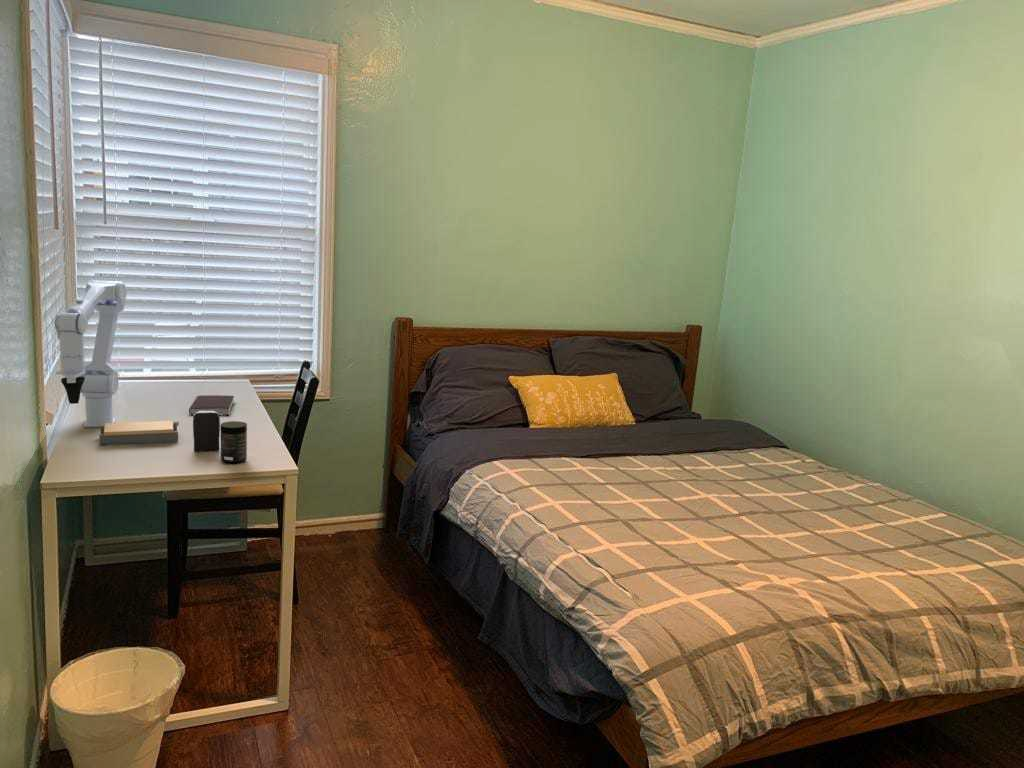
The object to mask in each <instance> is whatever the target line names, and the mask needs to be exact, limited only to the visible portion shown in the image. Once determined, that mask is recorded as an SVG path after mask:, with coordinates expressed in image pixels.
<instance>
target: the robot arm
mask: <svg viewBox="0 0 1024 768" xmlns="http://www.w3.org/2000/svg"><path fill="white" fill-rule="evenodd" d="M126 300H127V289H126V285H125V284H124V282H123V281H120V280H119V281H115V280H114V281H111V280H96V279H89V280H88V282H87V283H86V284H85V294H84V296H83V297H82V298H77V299H76V300H75V301H74V302H73V303H72V304H71V305H70V306H69V308H68V309H67V310H65V311H64V312H63V311H62V312H60V313H58V314H57V315H55V319H54V324H53V325H54V329H55V331H56V337H57V340H59V352H60V354H59V355H60V358H59V359H60V370H56V371H55V374H56V375H61V376H63V377H62V378H61V379H60V382H61V384H62V385H63V387H64V389H65V393H66V394H67V400H68V402H69V405H73V404H74V405H75V404H79V403H80V397H81V394H82V397H84V403H85V404H84V405H85V406H84V407H85V419H84V424H83V427H84V428H95V427H96V428H98V425H104V427H105V423H115V420H116V419H115V418H116V417H115V416H113V413H114V412H113V396H114V395H115V394H116V393H117V392H118V388H119V373H118V370H117V369H116V368H115V367H114V366H112V365H111V359H112V353H113V347H114V341H115V334H116V330H117V329H116V328H117V321H118V317H119V313H120V312H123V311H124V310H125V306H126ZM95 311H97V312H99V318H98V323H97V329H96V333H95V340H94V346H93V353H92V359H91V361H90V363H88V364H86V365H85V349H84V345H85V344H84V333H86V331H87V326H88V324H89V320H90V319H91V318H92V316H93V315H94V314H95Z"/></svg>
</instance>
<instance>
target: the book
mask: <svg viewBox="0 0 1024 768" xmlns="http://www.w3.org/2000/svg"><path fill="white" fill-rule="evenodd" d="M234 398H235V396H234V395H213V394H212V395H207V394H206V395H204V394H203V395H202V394H201V395H197V396H196V397H195V399H194V400H193V402H192V404H190V407H189V408H188V414H189V415H190V414H195V413H196V412H197V411H217V412H218V414H219V416H222V415H226V416H230V415H229V413H230V414H231V412H230V410H231V411H232V409H231V407H232V408H233V406H232V404H233V402H234V403H235V401H234ZM233 405H234V404H233ZM221 414H222V415H221Z"/></svg>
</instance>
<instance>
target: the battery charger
mask: <svg viewBox="0 0 1024 768" xmlns="http://www.w3.org/2000/svg"><path fill="white" fill-rule="evenodd" d="M220 418H221V417H220V415H219V414H218V412H217V411H197V412H196V413H195V414H194V415H192V434H193V436H192V437H193V452H196V453H197V452H199V453H205V452H218V451H220V437H221V431H220V430H221V419H220Z"/></svg>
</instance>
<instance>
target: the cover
mask: <svg viewBox="0 0 1024 768" xmlns="http://www.w3.org/2000/svg"><path fill="white" fill-rule="evenodd" d="M173 422H174V421H173V420H159V421H158V420H156V421H155V420H154V421H133V422H131V421H130V422H127V421H126V422H114V423H105V426H104V436H107V435H129V434H152V433H174V431H173Z"/></svg>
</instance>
